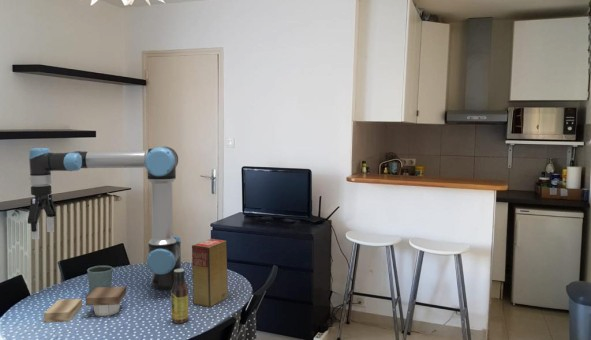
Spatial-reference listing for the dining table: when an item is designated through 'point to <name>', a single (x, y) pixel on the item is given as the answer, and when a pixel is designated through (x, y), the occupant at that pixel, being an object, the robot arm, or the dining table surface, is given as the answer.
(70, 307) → the light wooden block
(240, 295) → the dining table surface
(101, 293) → the cover board
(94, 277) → the grey-green cup
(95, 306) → the bowl
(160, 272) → the robot arm
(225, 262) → the food packaging
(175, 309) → the sauce bottle
